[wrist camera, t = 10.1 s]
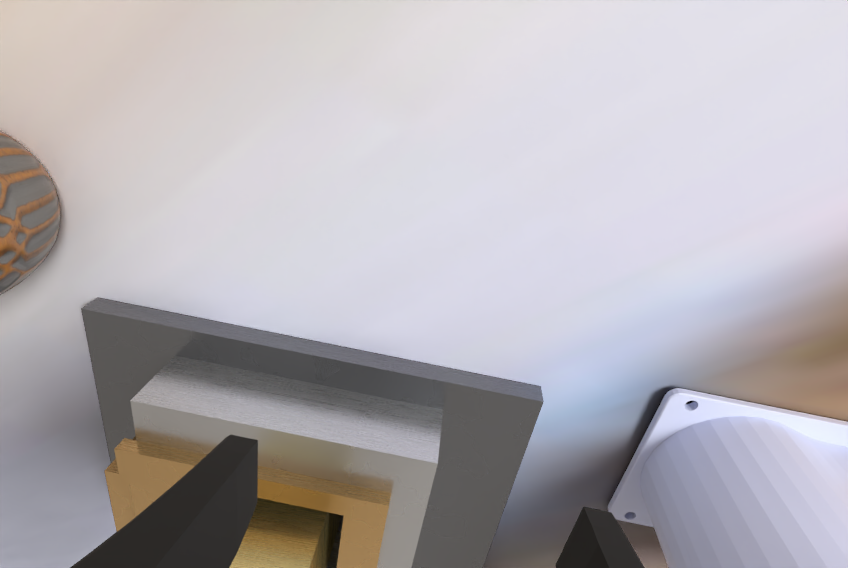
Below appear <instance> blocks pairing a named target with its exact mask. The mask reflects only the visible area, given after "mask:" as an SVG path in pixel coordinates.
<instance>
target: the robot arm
mask: <svg viewBox="0 0 848 568" xmlns="http://www.w3.org/2000/svg"><path fill="white" fill-rule="evenodd" d="M689 401H693V402H692V403H690V404H686V403H687V402H689ZM257 489H258V440H255V439H250V438H245V437H241V436H236V435H229V436H227V437H226V438H225V439H224V440H223V441H221V442H220V443H219V444H218V445H217V446H216V447H215V448H214V449H213V450H212V451H211V452H210V453H209V454H208V455H206V456H205V457H204V458H203V459H202V460H201V461H200V462H199V463H198V464H197V465H195V466H194V467H193V468H192V469H191V470H190V471H189V472H188V473H187V474H185V475H184V476H183V477H182V478H181V479H180V480H179V481H178V482H176V483H175V484H174V485H173V486H172V487H171V488H170V489H168V490H167V491H166V492H165V493H164V494H162V495H161V496H160V497H159V498H158V499H157V500H155V501H154V502H153V503H152V504H151V505H149V506H148V507H147V508H146V509H145V510H144V511H142V512H141V513H140V514H139V515H138V516H136V517H135V518H134V519H133V520H131V521H130V522H129V523H128V524H126V525H125V526H124V527H123V528H121V529H120V530H119V531H117V532H116V533H115V534H114V535H112V536H111V537H110V538H108V539H107V540H106V541H105V542H103V543H102V544H101V545H100V546H98V547H97V548H96V549H94V550H93V551H92V552H91V553H89V554H88V555H87V556H85V557H84V558H83V559H81V560H80V561H79V562H77V563H76V564H74V565H73V566H72V567H70V568H229V567H230V565H231V563H232V562H233V560H234V558H235V556H236V554H237V552H238V550H239V547H240V545H241V542H242V540H243V538H244V535H245V533H246V530H247V528H248V525H249V523H250V520H251V518H252V515H253V513H254V510H255V508H256V505H257ZM617 520H620V521H625V522H630V523H635V524H640V525H645V526H650V527H654V529H655V532H656V535H657V537H658V540H659V543H660V546H661V548H662V551H663V554H664V557H665V559H666V562H667V565H668V568H848V422H846V421H841V420H836V419H831V418H826V417H821V416H816V415H811V414H806V413H801V412H796V411H791V410H786V409H781V408H776V407H771V406H766V405H761V404H756V403H751V402H746V401H741V400H736V399H731V398H726V397H721V396H716V395H711V394H706V393H701V392H696V391H691V390H686V389H681V388H676V389H672V390H670V391H668V392H667V393H666V394H665V396H664V398H663V400H662V402H661V404H660V405H659V407H658V409H657V411H656V413H655V415H654V417H653V419H652V421H651V423H650V425H649V427H648V429H647V431H646V433H645V435H644V437H643V439H642V440H641V442H640V444H639V446H638V448H637V450H636V452H635V454H634V456H633V458H632V460H631V462H630V464H629V466H628V468H627V470H626V472H625V473H624V475H623V477H622V479H621V481H620V483H619V485H618V487H617V489H616V491H615V493H614V495H613V497H612V499H611V501H610V503H609V505H608V512H606V511H601V510H597V509H592V508H587V507H583V509H582V511H581V513H580V515H579V517H578V519H577V522H576V524H575V526H574V528H573V530H572V532H571V534H570V536H569V538H568V540H567V542H566V544H565V547H564V549H563V551H562V553H561V555H560V557H559V559H558V561H557V563H556V568H644V566H643V564H642V563H641V561H640V559H639V558H638V556H637V554H636V553H635V551H634V549H633V548H632V546H631V544H630V542H629V541H628V539H627V537H626V536H625V534H624V532H623V531H622V529H621V527H620V525H619V524H618V522H617Z"/></svg>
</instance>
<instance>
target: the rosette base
mask: <svg viewBox="0 0 848 568" xmlns="http://www.w3.org/2000/svg"><path fill="white" fill-rule="evenodd" d="M81 310H82V315H83V321H84V326H85V331H86V336H87V341H88V347H89V352H90V357H91V362H92V367H93V373H94V378H95V383H96V388H97V393H98V399H99V404H100V409H101V414H102V419H103V425H104V430H105V435H106V440H107V446H108V451H109V456H110V461H111V464H110V465H109V466H108V467H107V469H106V470H105V476H106V481H107V486H108V491H109V496H110V501H111V506H112V511H113V516H114V521H115V526H116V530H117V531H119V530H120V529H121V528H123V527H124V526H125V525H126V524H128V523H129V522H130V521H131V520H133V519H134V518H135V517H136V516H138V515H139V514H140V513H141V512H142V511H144V510H145V509H146V508H147V507H148V506H149V505H151V504H152V503H153V502H154V501H155V500H157V499H158V498H159V497H160V496H161V495H162V494H164V493H165V492H166V491H167V490H168V489H170V488H171V487H172V486H173V485H174V484H175V483H176V482H178V481H179V480H180V479H181V478H182V477H183V476H184V475H185V474H187V473H188V472H189V471H190V470H191V469H192V468H193V467H194V466H195V465H197V464H198V463H199V462H200V461H201V460H202V459H203V458H204V457H205V456H206V455H208V454H209V453H210V452H211V451H212V450H213V449H214V448H215V447H216V446H217V445H218V444H219V443H220V442H221V441H223V440H224V439H225V438H226V437H227V436H229V435H236V436H241V437H245V438H250V439H255V440H258V489H257V498H262V499H266V500H271V501H276V502H281V503H286V504H291V505H295V506H300V507H305V508H310V509H315V510H319V511H324V512H329V513H334V514H339V515H341V520H340V524H339V527H338V530H337V534H336V537H335V541H334V544H333V547H332V551H331V554H330V558H329V561H328V564H327V568H483V565H484V562H485V560H486V557H487V554H488V551H489V549H490V546H491V543H492V541H493V538H494V535H495V532H496V530H497V527H498V524H499V521H500V519H501V516H502V513H503V510H504V508H505V505H506V502H507V500H508V497H509V494H510V491H511V489H512V486H513V483H514V480H515V478H516V475H517V472H518V470H519V467H520V464H521V461H522V459H523V456H524V453H525V450H526V448H527V445H528V442H529V440H530V437H531V434H532V431H533V429H534V426H535V423H536V420H537V418H538V415H539V412H540V410H541V407H542V404H543V397H542V391H541V386H536V385H531V384H526V383H521V382H516V381H511V380H506V379H501V378H496V377H491V376H486V375H481V374H476V373H471V372H466V371H461V370H456V369H451V368H446V367H441V366H436V365H431V364H426V363H421V362H416V361H411V360H406V359H401V358H396V357H391V356H386V355H381V354H376V353H371V352H366V351H361V350H356V349H351V348H346V347H341V346H336V345H331V344H326V343H322V342H317V341H312V340H307V339H302V338H297V337H292V336H287V335H282V334H277V333H272V332H267V331H262V330H257V329H252V328H247V327H242V326H237V325H232V324H227V323H222V322H217V321H212V320H207V319H202V318H197V317H192V316H187V315H182V314H177V313H172V312H167V311H162V310H157V309H152V308H147V307H142V306H137V305H132V304H127V303H122V302H117V301H112V300H107V299H102V298H97V299H95V300H94V301H92V302H90V303H89V304H87V305H86V306H84V307H83V308H81Z"/></svg>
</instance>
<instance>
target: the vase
mask: <svg viewBox="0 0 848 568" xmlns="http://www.w3.org/2000/svg"><path fill="white" fill-rule="evenodd" d="M59 225H60V207H59V200H58V196H57V192H56V189H55V187H54V184H53V182H52V180H51V178H50V176H49V175H48V173H47V172H46V170H45V169H44V167H43V166H42V165H41V164H40V162H39V161H38V160H37V159H36V158H35V157H34V156H33V155H32V154H31V153H30V152H29V151H28V150H27V149H25V148H24V147H23V146H22V145H21V144H19V143H18V142H17V141H16V140H14V139H13V138H11V137H10V136H8V135H7V134H5V133H3V132H2V131H0V295H1V294H3V293H5V292H6V291H8V290H10V289H11V288H13V287H14V286H16V285H17V284H19V283H20V282H22V281H23V280H24V279H26V278H27V277H28V276H29V275H30V274H31V273H32V272H33V271H34V270H35V269H36V268H37V267H38V266H39V265H40V264H41V263H42V262H43V260H44V259H45V258H46V257H47V255H48V253H49V252H50V250H51V249H52V247H53V245H54V243H55V241H56V238H57V235H58V230H59Z"/></svg>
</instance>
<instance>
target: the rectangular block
mask: <svg viewBox="0 0 848 568" xmlns="http://www.w3.org/2000/svg"><path fill="white" fill-rule="evenodd" d="M340 520H341V515H339V514H334V513H329V512H324V511H319V510H315V509H310V508H305V507H300V506H295V505H291V504H286V503H281V502H276V501H271V500H266V499H262V498H257V505H256V508H255V510H254V513H253V515H252V518H251V520H250V523H249V525H248V528H247V530H246V533H245V535H244V538H243V540H242V542H241V545H240V547H239V550H238V552H237V554H236V556H235V558H234V560H233V562H232V563H231V565H230V567H229V568H327V564H328V561H329V558H330V554H331V551H332V547H333V544H334V541H335V537H336V534H337V530H338V527H339V524H340Z"/></svg>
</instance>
